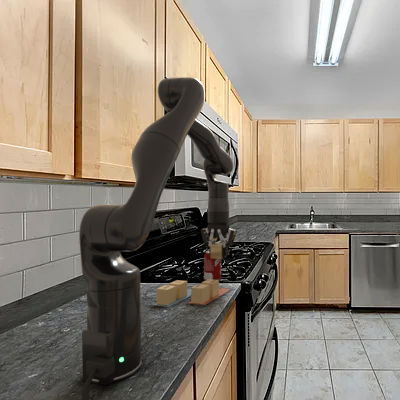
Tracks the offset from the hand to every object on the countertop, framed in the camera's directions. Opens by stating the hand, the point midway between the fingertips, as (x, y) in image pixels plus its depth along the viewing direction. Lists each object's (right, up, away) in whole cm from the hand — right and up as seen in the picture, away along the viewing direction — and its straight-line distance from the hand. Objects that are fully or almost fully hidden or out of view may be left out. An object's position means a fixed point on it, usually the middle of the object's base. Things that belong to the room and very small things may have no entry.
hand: (218, 256), depth 112 cm
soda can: (-6, -13, +14) cm, 20 cm away
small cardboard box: (0, 0, 0) cm, 0 cm away
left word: (-12, -13, -7) cm, 19 cm away
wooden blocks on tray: (-1, -13, -6) cm, 14 cm away
